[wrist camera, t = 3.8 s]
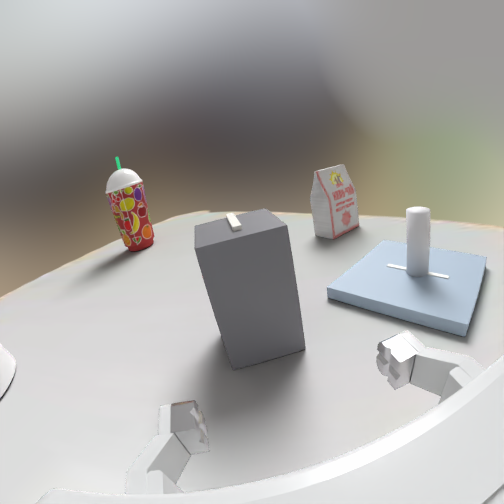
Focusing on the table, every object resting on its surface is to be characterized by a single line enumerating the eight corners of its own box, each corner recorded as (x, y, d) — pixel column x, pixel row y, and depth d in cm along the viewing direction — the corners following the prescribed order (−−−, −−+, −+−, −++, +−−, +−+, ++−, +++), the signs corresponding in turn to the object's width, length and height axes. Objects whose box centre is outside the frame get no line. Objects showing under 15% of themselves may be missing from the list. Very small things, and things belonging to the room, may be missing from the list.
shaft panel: (464, 336, 17) (481, 246, 14) (327, 297, 27) (319, 224, 25) (485, 266, 24) (490, 201, 22) (384, 248, 35) (380, 191, 32)
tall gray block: (305, 349, 21) (286, 220, 18) (232, 370, 21) (193, 243, 17) (284, 312, 27) (264, 204, 23) (224, 329, 26) (193, 222, 23)
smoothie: (124, 247, 62) (100, 164, 55) (157, 236, 65) (135, 152, 58) (123, 258, 55) (95, 162, 48) (161, 245, 57) (135, 149, 50)
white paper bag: (315, 235, 44) (305, 171, 41) (341, 222, 48) (334, 164, 44) (333, 239, 41) (324, 171, 38) (359, 225, 45) (352, 164, 41)
